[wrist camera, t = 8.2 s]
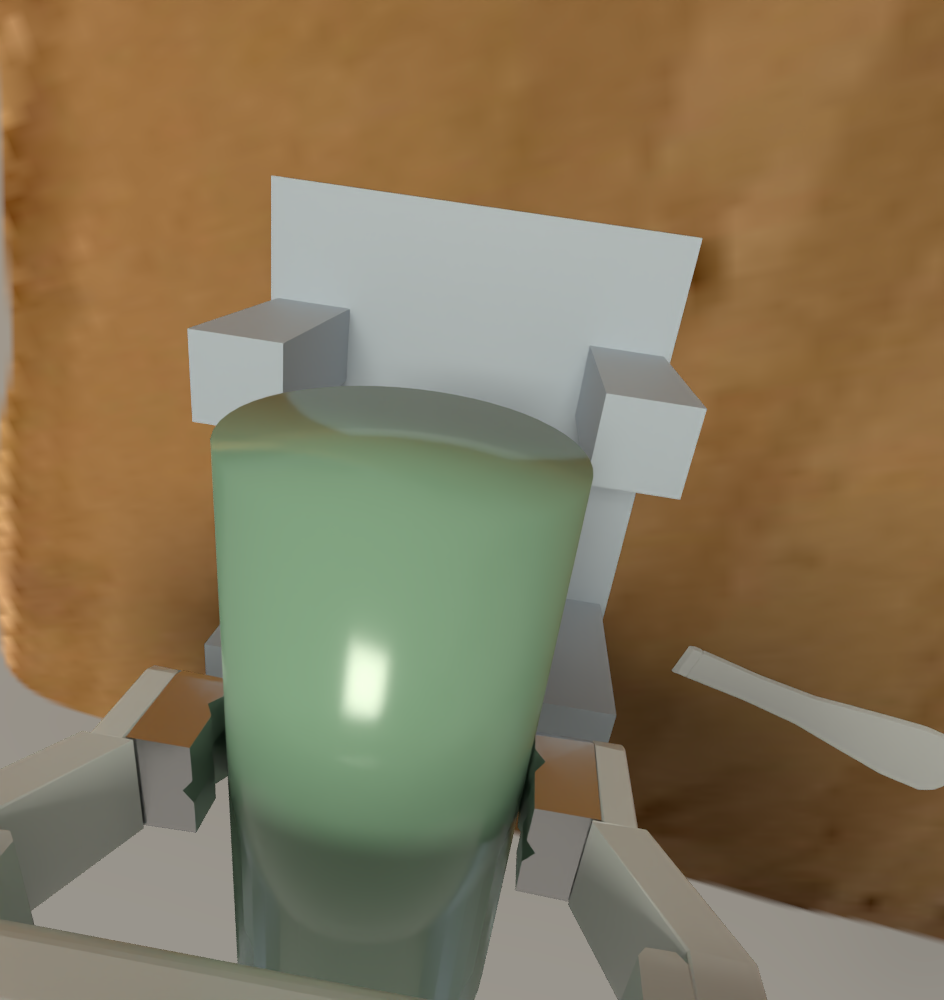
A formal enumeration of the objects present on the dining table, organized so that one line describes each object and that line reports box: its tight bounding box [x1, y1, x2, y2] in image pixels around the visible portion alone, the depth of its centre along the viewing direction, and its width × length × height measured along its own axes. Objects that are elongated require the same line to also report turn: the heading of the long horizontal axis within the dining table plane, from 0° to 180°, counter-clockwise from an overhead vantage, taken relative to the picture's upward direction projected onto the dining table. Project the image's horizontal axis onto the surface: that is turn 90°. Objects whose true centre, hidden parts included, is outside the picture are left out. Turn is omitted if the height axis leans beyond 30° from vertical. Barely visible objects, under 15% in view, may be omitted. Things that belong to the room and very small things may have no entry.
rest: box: [188, 176, 707, 743], centre depth 18 cm, size 16×11×6 cm
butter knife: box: [672, 646, 944, 790], centre depth 23 cm, size 1×24×3 cm
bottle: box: [210, 386, 593, 1000], centre depth 12 cm, size 16×5×5 cm, turn 173°
